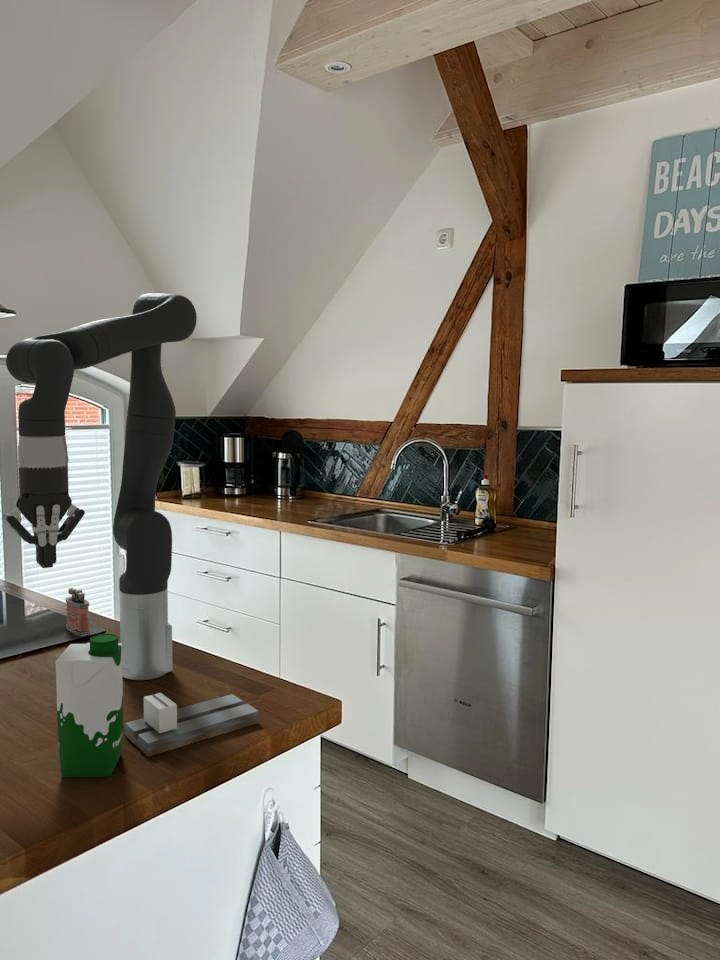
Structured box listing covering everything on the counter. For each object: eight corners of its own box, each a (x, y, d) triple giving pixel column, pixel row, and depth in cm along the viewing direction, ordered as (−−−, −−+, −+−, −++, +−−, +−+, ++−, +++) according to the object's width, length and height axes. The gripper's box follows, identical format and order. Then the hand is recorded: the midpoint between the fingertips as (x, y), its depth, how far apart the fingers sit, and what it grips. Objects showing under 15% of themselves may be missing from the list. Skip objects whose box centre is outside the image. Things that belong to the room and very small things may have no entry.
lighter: (93, 634, 175) (92, 592, 174) (79, 637, 173) (78, 594, 171) (76, 626, 180) (75, 585, 179) (63, 629, 178) (61, 587, 177)
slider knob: (161, 722, 127) (160, 692, 126) (177, 735, 122) (176, 704, 122) (144, 727, 125) (143, 696, 125) (159, 740, 121) (159, 708, 120)
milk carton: (115, 779, 111) (113, 647, 108) (51, 781, 110) (48, 648, 108) (128, 751, 120) (126, 628, 117) (69, 752, 119) (66, 628, 116)
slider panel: (232, 705, 137) (232, 693, 137) (258, 723, 130) (258, 710, 130) (125, 735, 125) (125, 722, 125) (148, 756, 118) (147, 742, 118)
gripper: (76, 459, 131) (78, 557, 133) (-7, 463, 123) (-3, 568, 125) (91, 463, 125) (94, 566, 127) (6, 467, 117) (10, 577, 119)
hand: (46, 566), depth 126 cm, fingers closed
